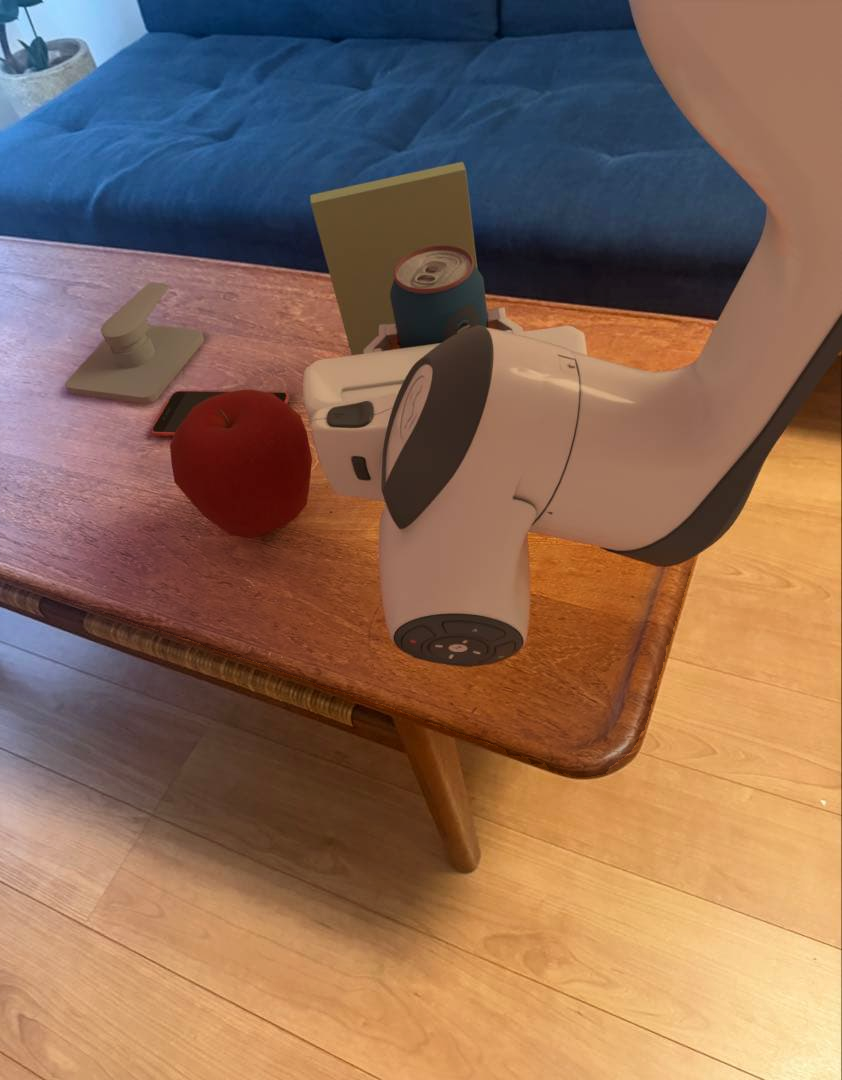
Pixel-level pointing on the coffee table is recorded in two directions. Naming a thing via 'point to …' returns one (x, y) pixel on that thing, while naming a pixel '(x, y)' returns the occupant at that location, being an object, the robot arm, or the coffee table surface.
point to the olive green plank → (387, 238)
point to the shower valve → (135, 354)
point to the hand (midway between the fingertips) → (442, 323)
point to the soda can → (436, 295)
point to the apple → (243, 461)
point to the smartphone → (187, 409)
